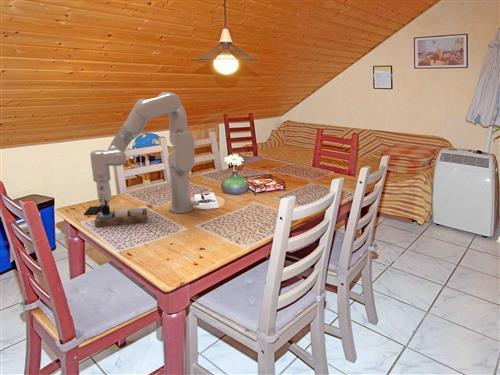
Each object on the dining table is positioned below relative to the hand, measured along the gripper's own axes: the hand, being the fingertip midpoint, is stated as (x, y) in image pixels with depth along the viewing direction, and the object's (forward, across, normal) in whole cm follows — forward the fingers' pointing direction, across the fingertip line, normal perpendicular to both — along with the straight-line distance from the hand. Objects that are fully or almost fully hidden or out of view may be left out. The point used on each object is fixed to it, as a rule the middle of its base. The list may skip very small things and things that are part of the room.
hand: (106, 214), depth 181 cm
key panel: (+4, 0, -7) cm, 8 cm away
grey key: (+2, 0, -14) cm, 14 cm away
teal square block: (+2, 0, 0) cm, 2 cm away
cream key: (+2, 0, -7) cm, 7 cm away
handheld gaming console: (+4, +17, +7) cm, 19 cm away
